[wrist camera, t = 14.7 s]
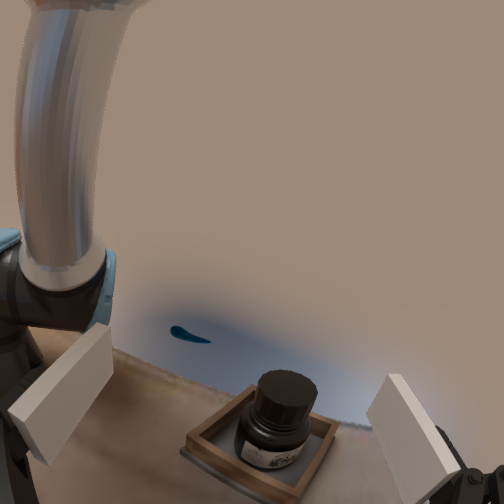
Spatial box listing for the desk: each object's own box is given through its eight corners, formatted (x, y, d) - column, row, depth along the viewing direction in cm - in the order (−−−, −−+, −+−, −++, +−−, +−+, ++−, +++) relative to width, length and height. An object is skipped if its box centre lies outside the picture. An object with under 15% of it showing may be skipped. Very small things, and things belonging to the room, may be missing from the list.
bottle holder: (179, 453, 27) (180, 434, 26) (245, 401, 41) (250, 381, 40) (288, 515, 19) (300, 501, 19) (333, 440, 33) (344, 422, 32)
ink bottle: (239, 477, 24) (260, 419, 22) (223, 429, 32) (236, 365, 30) (310, 464, 27) (343, 404, 25) (285, 423, 35) (308, 362, 33)
